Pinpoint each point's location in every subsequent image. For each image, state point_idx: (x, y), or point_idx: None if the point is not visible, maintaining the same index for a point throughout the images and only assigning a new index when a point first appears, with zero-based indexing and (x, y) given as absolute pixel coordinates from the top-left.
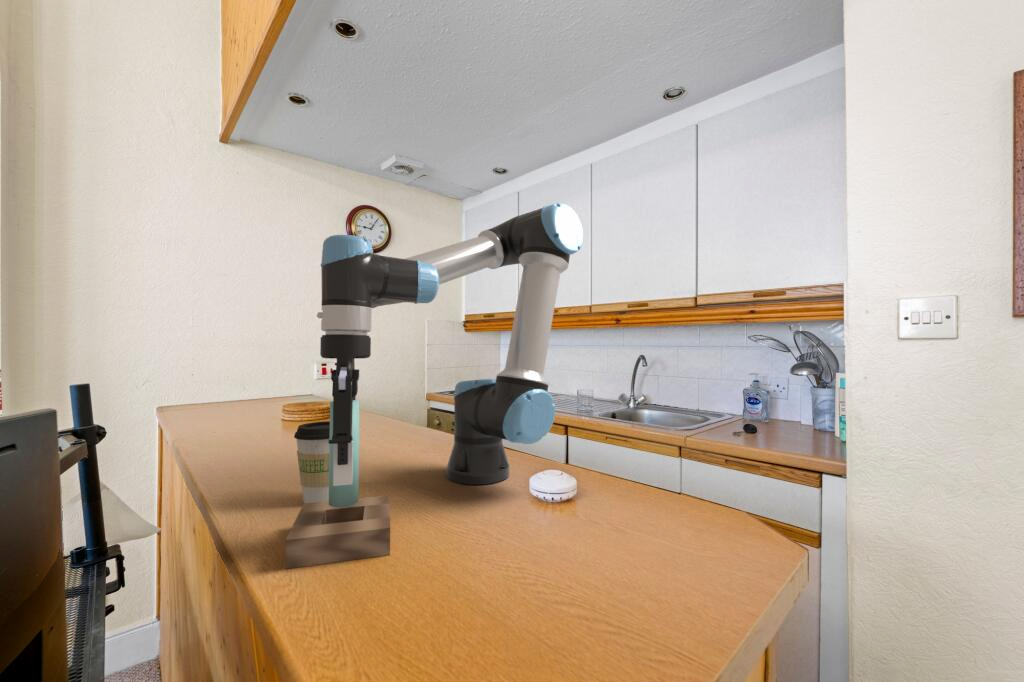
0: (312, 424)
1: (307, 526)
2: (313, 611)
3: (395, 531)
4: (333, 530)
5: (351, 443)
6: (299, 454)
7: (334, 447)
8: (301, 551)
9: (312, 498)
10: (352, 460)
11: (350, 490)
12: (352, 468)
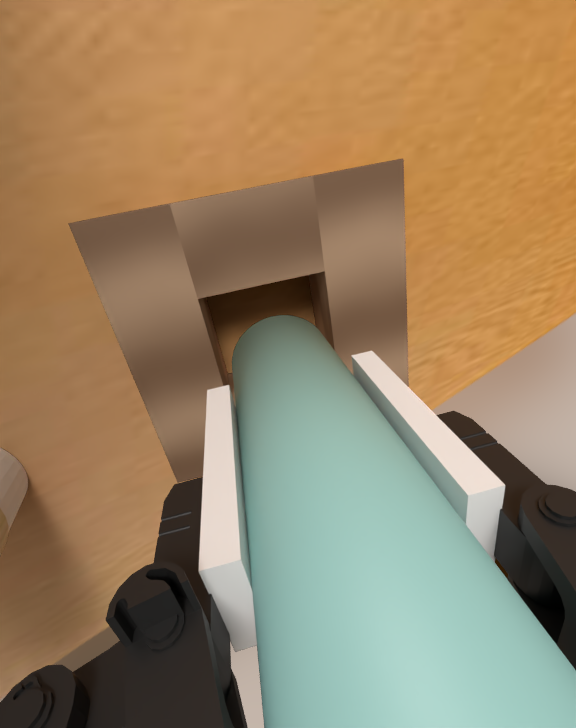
0: None
1: None
2: (537, 283)
3: (213, 171)
4: (382, 336)
5: (495, 484)
6: None
7: None
8: None
9: (20, 495)
10: (412, 407)
11: (334, 350)
12: (383, 385)
